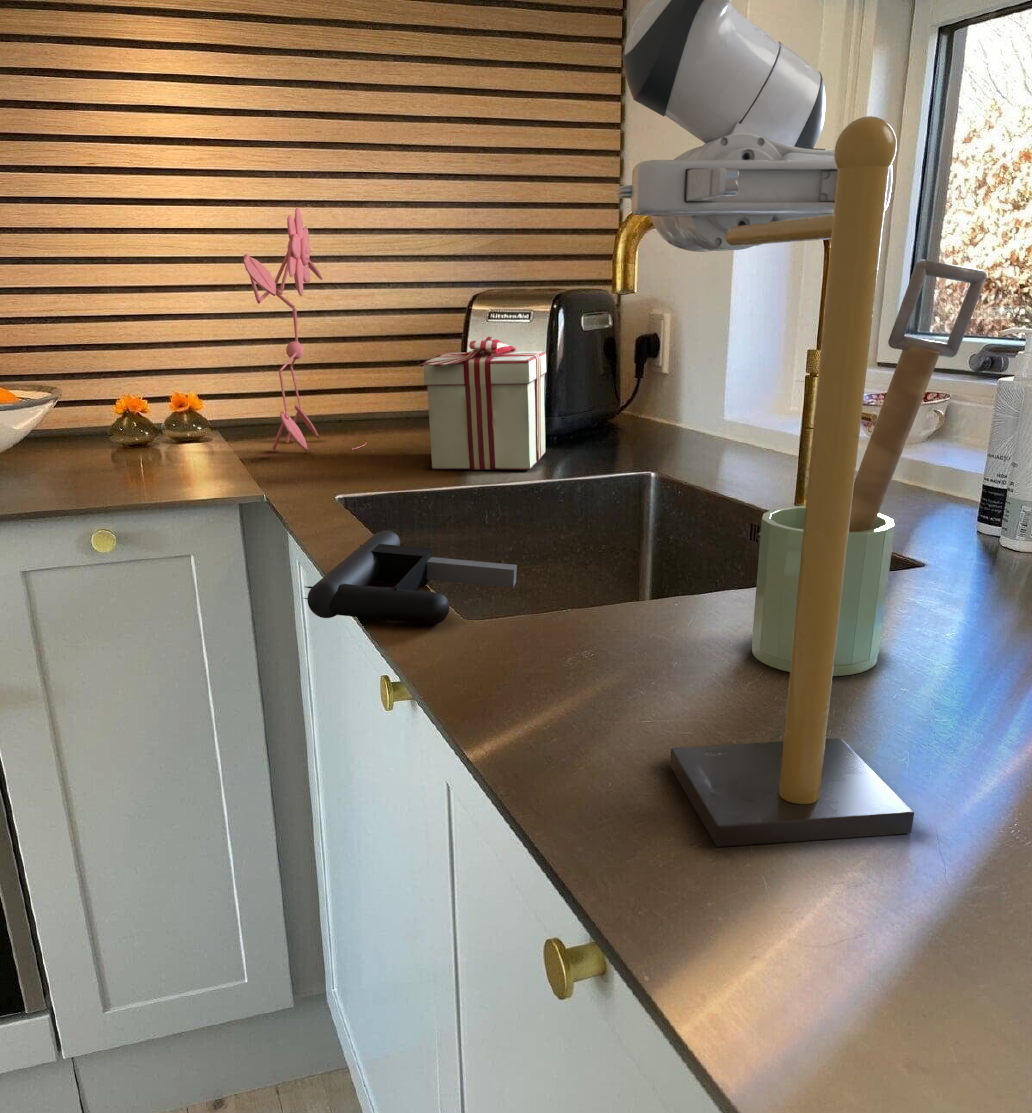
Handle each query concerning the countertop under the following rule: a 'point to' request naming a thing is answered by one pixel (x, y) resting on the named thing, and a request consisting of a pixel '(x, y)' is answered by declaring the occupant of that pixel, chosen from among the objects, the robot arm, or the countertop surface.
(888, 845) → the countertop surface
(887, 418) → the square loop wand
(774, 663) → the crock
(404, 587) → the black frame with bar
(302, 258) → the figurine
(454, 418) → the gift box
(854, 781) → the stand
